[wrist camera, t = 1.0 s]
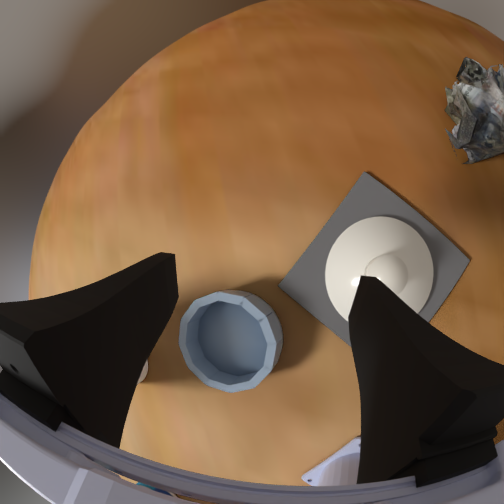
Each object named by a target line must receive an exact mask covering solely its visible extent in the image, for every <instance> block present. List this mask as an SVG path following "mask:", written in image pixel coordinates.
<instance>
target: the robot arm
mask: <svg viewBox="0 0 504 504" xmlns="http://www.w3.org/2000/svg"><path fill="white" fill-rule="evenodd" d="M178 297H179V295H178V285H177V274H176V262H175V254H171V253H163V252H160V253H157V254H155V255H152V256H150V257H148V258H146V259H144V260H142V261H140V262H138V263H136V264H134V265H132V266H130V267H128V268H126V269H124V270H122V271H119V272H117V273H115V274H113V275H111V276H108V277H106V278H104V279H102V280H100V281H97V282H95V283H92V284H90V285H87V286H84V287H81V288H78V289H75V290H72V291H68V292H65V293H61V294H58V295H54V296H50V297H45V298H40V299H34V300H27V301H19V302H7V303H0V366H1V367H2V369H3V370H2V371H1V373H0V460H1V461H2V462H3V463H4V464H5V465H6V466H8V468H9V469H10V470H11V471H13V472H14V473H15V474H16V475H17V476H18V477H19V478H20V479H21V480H23V481H24V482H25V483H26V484H27V485H29V486H30V487H31V488H32V489H33V490H35V491H36V492H37V493H38V494H40V495H41V496H42V497H44V498H45V499H46V500H48V501H49V502H50V503H52V504H201V503H196V502H192V501H188V500H184V499H180V498H176V497H173V496H169V495H166V494H163V493H159V492H156V491H153V490H150V489H147V488H144V487H142V486H139V485H136V484H133V483H131V482H128V481H126V480H123V479H121V478H120V476H119V475H117V474H120V475H122V476H125V477H127V478H130V479H132V480H135V481H138V482H140V483H143V484H146V485H149V486H152V487H155V488H158V489H161V490H164V491H168V492H171V493H175V494H178V495H182V496H186V497H190V498H194V499H199V500H203V501H208V502H213V503H218V504H504V440H502V441H500V442H499V443H497V444H496V445H495V444H494V441H493V438H495V437H496V436H497V430H496V427H495V426H496V425H497V424H498V423H499V422H500V421H501V420H502V419H503V418H504V365H502V364H499V363H497V362H494V361H491V360H489V359H487V358H485V357H483V356H481V355H479V354H477V353H475V352H473V351H471V350H469V349H467V348H465V347H464V346H462V345H460V344H459V343H457V342H455V341H454V340H452V339H451V338H449V337H448V336H446V335H445V334H443V333H442V332H440V331H439V330H438V329H436V328H435V327H433V326H432V325H431V324H430V323H428V322H427V321H426V320H425V319H423V318H422V317H421V316H420V315H419V314H417V313H416V312H415V311H414V310H413V309H412V308H410V307H409V306H408V305H407V304H406V303H405V302H404V301H403V300H402V299H400V298H399V297H398V296H397V295H396V294H395V293H394V292H393V291H392V290H391V289H390V288H388V287H387V286H386V285H385V284H384V283H383V282H382V281H380V280H379V279H378V278H376V277H372V276H362V275H361V277H360V280H359V284H358V287H357V291H356V294H355V297H354V300H353V304H352V307H351V310H350V313H349V316H348V322H349V335H350V342H351V347H352V352H353V357H354V362H355V367H356V372H357V377H358V382H359V389H360V399H361V437H356V438H354V439H353V440H351V441H350V442H349V443H348V444H346V445H345V446H344V447H342V448H341V449H340V450H338V451H337V452H336V453H334V454H333V455H332V456H330V457H329V458H327V459H326V460H324V461H323V462H322V463H320V464H319V465H317V466H316V467H314V468H313V469H311V470H309V471H308V472H306V473H305V474H303V475H302V480H303V481H305V482H307V483H308V484H310V485H312V486H286V485H271V484H260V483H251V482H243V481H236V480H230V479H224V478H218V477H213V476H208V475H203V474H199V473H194V472H190V471H186V470H182V469H178V468H175V467H171V466H168V465H164V464H161V463H158V462H154V461H151V460H148V459H145V458H142V457H140V456H137V455H134V454H131V453H129V452H126V451H123V450H121V449H119V447H120V442H121V438H122V433H123V429H124V424H125V421H126V417H127V414H128V410H129V407H130V403H131V400H132V397H133V394H134V391H135V388H136V386H137V383H138V380H139V378H140V375H141V372H142V370H143V367H144V365H145V363H146V361H147V359H148V357H149V355H150V353H151V351H152V350H153V348H154V346H155V344H156V343H157V341H158V339H159V337H160V335H161V334H162V332H163V330H164V328H165V327H166V325H167V323H168V321H169V319H170V317H171V315H172V313H173V310H174V308H175V305H176V303H177V300H178ZM360 443H361V445H359V444H360ZM109 470H110V471H109ZM111 471H113V472H115V473H117V474H115V473H113V472H111ZM309 479H311V480H309Z"/></svg>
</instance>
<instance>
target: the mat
mask: <svg viewBox="0 0 504 504" xmlns="http://www.w3.org/2000/svg"><path fill="white" fill-rule="evenodd" d="M380 216H382V217H390V218H395V219H398V220H400V221H402V222H404V223H406V224H408V225H409V226H411V227H412V228H413V229H414V230H416V231H417V232H418V233H419V235H420V236H421V237H422V238H423V240H424V241H425V243H426V245H427V247H428V249H429V251H430V254H431V258H432V262H433V283H432V288H431V291H430V294H429V297H428V299H427V301H426V303H425V304H424V306H423V308H422V309H421V310H420V311H419V313H418V314H419V315H420V316H421V317H422V318H423V319H425V320H426V321H427V322H429V321H430V320H431V318H432V317H433V316H434V314H435V313H436V312H437V310H438V309H439V307H440V306H441V305H442V303H443V302H444V300H445V299H446V297H447V296H448V295H449V293H450V292H451V290H452V289H453V287H454V286H455V284H456V283H457V281H458V279H459V278H460V276H461V275H462V273H463V271H464V270H465V268H466V266H467V265H468V263H469V261H470V260H469V259H468V258H467V257H466V256H465V255H464V254H463V253H462V252H461V251H460V250H459V249H458V248H457V247H456V246H455V245H454V244H453V243H452V242H451V241H450V240H448V239H447V238H446V237H445V236H444V235H443V234H442V233H441V232H440V231H439V230H438V229H436V228H435V227H434V226H433V225H432V224H431V223H430V222H428V221H427V220H426V219H425V218H424V217H423V216H421V215H420V214H419V213H418V212H417V211H415V210H414V209H413V208H412V207H411V206H409V205H408V204H407V203H406V202H404V201H403V200H402V199H401V198H399V197H398V196H397V195H396V194H394V193H393V192H392V191H390V190H389V189H388V188H386V187H385V186H384V185H382V184H381V183H380V182H378V181H377V180H376V179H374V178H373V177H371V176H370V175H369V174H367V173H366V172H363V174H362V175H361V177H360V178H359V179H358V181H357V182H356V184H355V185H354V186H353V188H352V189H351V191H350V192H349V193H348V195H347V196H346V197H345V199H344V200H343V201H342V203H341V204H340V206H339V207H338V208H337V210H336V211H335V212H334V214H333V215H332V216H331V218H330V219H329V220H328V222H327V223H326V224H325V226H324V227H323V228H322V230H321V231H320V232H319V234H318V235H317V236H316V238H315V239H314V240H313V242H312V243H311V244H310V245H309V247H308V248H307V249H306V251H305V252H304V253H303V255H302V256H301V257H300V258H299V260H298V261H297V262H296V264H295V265H294V266H293V267H292V269H291V270H290V271H289V272H288V274H287V275H286V276H285V278H284V279H283V280H282V281H281V283H280V284H279V285H278V287H280V288H281V289H282V290H283V291H284V292H286V293H287V294H288V295H289V296H290V297H292V298H293V299H294V300H295V301H296V302H298V303H299V304H300V305H301V306H302V307H304V308H305V309H306V310H307V311H308V312H310V313H311V314H312V315H313V316H314V317H316V318H317V319H318V320H319V321H320V322H322V323H323V324H324V325H325V326H326V327H328V328H329V329H330V330H331V331H332V332H334V333H335V334H336V335H337V336H339V337H340V338H341V339H342V340H343V341H345V342H346V343H347V344H348V345H349V346H351V342H350V335H349V322H348V321H347V320H345V319H344V318H343V317H342V316H341V315H340V314H339V313H338V311H337V310H336V309H335V307H334V306H333V304H332V302H331V300H330V298H329V295H328V292H327V288H326V282H325V270H326V263H327V258H328V256H329V253H330V250H331V248H332V246H333V244H334V243H335V241H336V240H337V238H338V237H339V236H340V235H341V234H342V233H343V232H344V231H345V230H346V229H347V228H348V227H350V226H351V225H353V224H354V223H356V222H358V221H360V220H363V219H366V218H371V217H380Z"/></svg>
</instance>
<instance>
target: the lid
mask: <svg viewBox="0 0 504 504" xmlns="http://www.w3.org/2000/svg"><path fill="white" fill-rule="evenodd" d="M361 275H362V276H372V277H376V278H378V279H379V280H380V281H382V282H383V283H384V284H385V285H386V286H387V287H388V288H390V289H391V290H392V291H393V292H394V293H395V294H396V295H397V296H398V297H399V298H400V299H402V300H403V301H404V302H405V303H406V304H407V305H408V306H409V307H410V308H412V309H413V310H414V311H415V312H416V313H417V314H418V313H419V311H420V310H421V309H422V308H423V306H424V304H425V303H426V301H427V299H428V297H429V294H430V291H431V288H432V283H433V262H432V258H431V254H430V251H429V249H428V247H427V245H426V243H425V241H424V240H423V238H422V237H421V236H420V235H419V233H418V232H417V231H416V230H414V229H413V228H412V227H411V226H409V225H408V224H406V223H404V222H402V221H400V220H398V219H395V218H390V217H382V216H380V217H371V218H366V219H363V220H360V221H358V222H356V223H354V224H353V225H351V226H350V227H348V228H347V229H346V230H345V231H344V232H343V233H342V234H341V235H340V236H339V237H338V238H337V240H336V241H335V243H334V244H333V246H332V248H331V250H330V253H329V256H328V258H327V263H326V270H325V282H326V288H327V292H328V295H329V298H330V300H331V302H332V304H333V306H334V307H335V309H336V310H337V311H338V313H339V314H340V315H341V316H342V317H343V318H344V319H345V320H347V321H348V316H349V313H350V310H351V307H352V304H353V300H354V297H355V294H356V291H357V287H358V284H359V280H360V277H361Z"/></svg>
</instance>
